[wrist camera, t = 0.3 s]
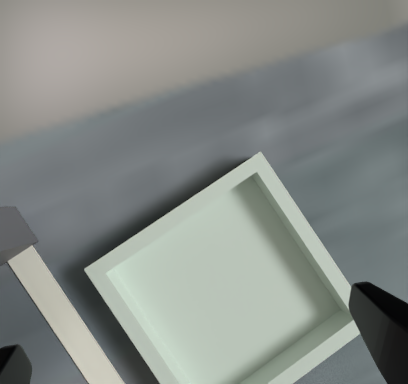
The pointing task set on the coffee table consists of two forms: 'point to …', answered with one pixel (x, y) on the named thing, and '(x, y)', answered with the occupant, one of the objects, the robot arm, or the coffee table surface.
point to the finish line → (52, 299)
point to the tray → (229, 287)
